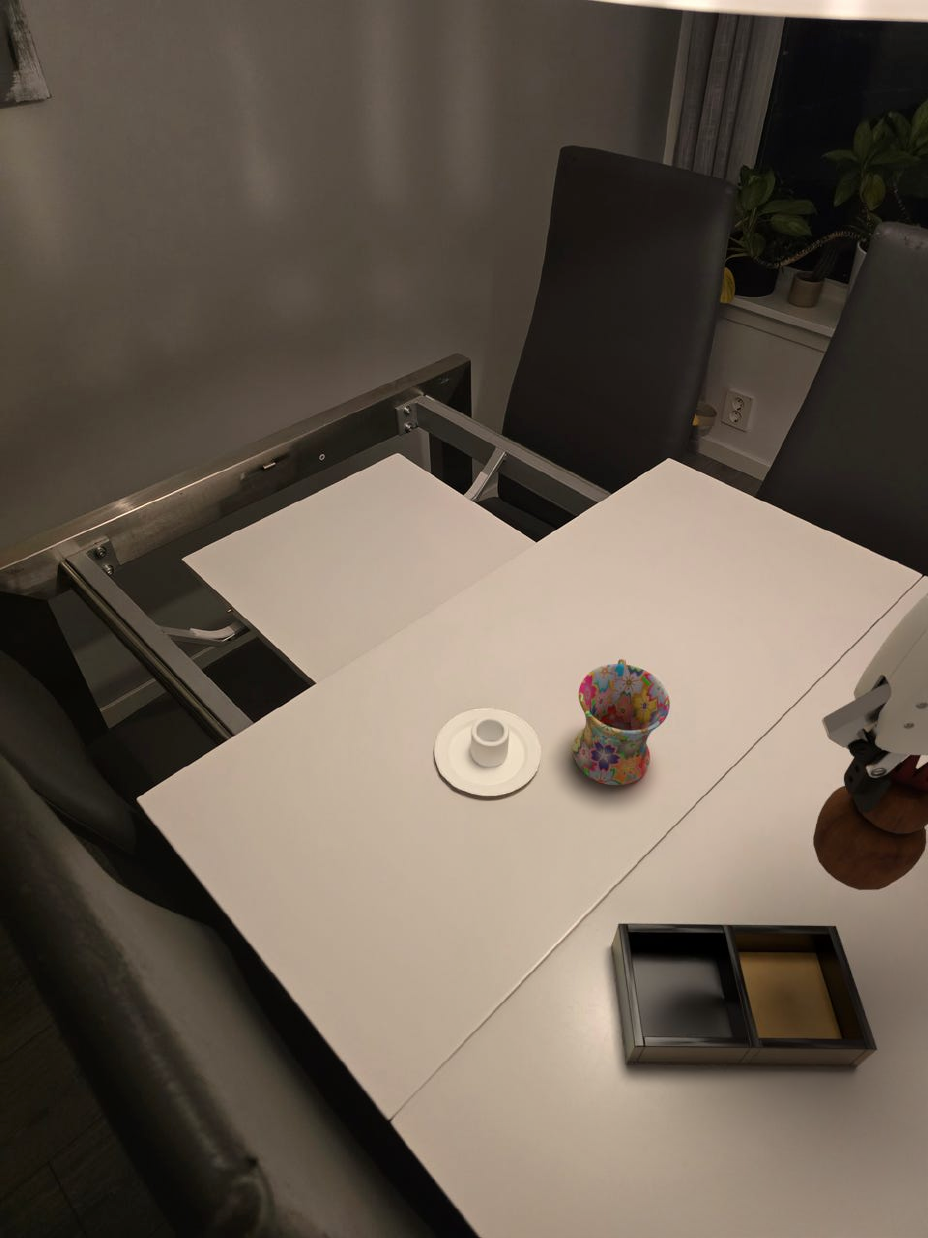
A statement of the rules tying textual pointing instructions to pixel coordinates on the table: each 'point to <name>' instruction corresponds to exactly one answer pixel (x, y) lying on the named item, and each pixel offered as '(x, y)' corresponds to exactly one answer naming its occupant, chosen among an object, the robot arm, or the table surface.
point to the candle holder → (487, 752)
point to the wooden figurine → (875, 831)
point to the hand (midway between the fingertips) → (897, 793)
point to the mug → (618, 722)
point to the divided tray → (738, 996)
